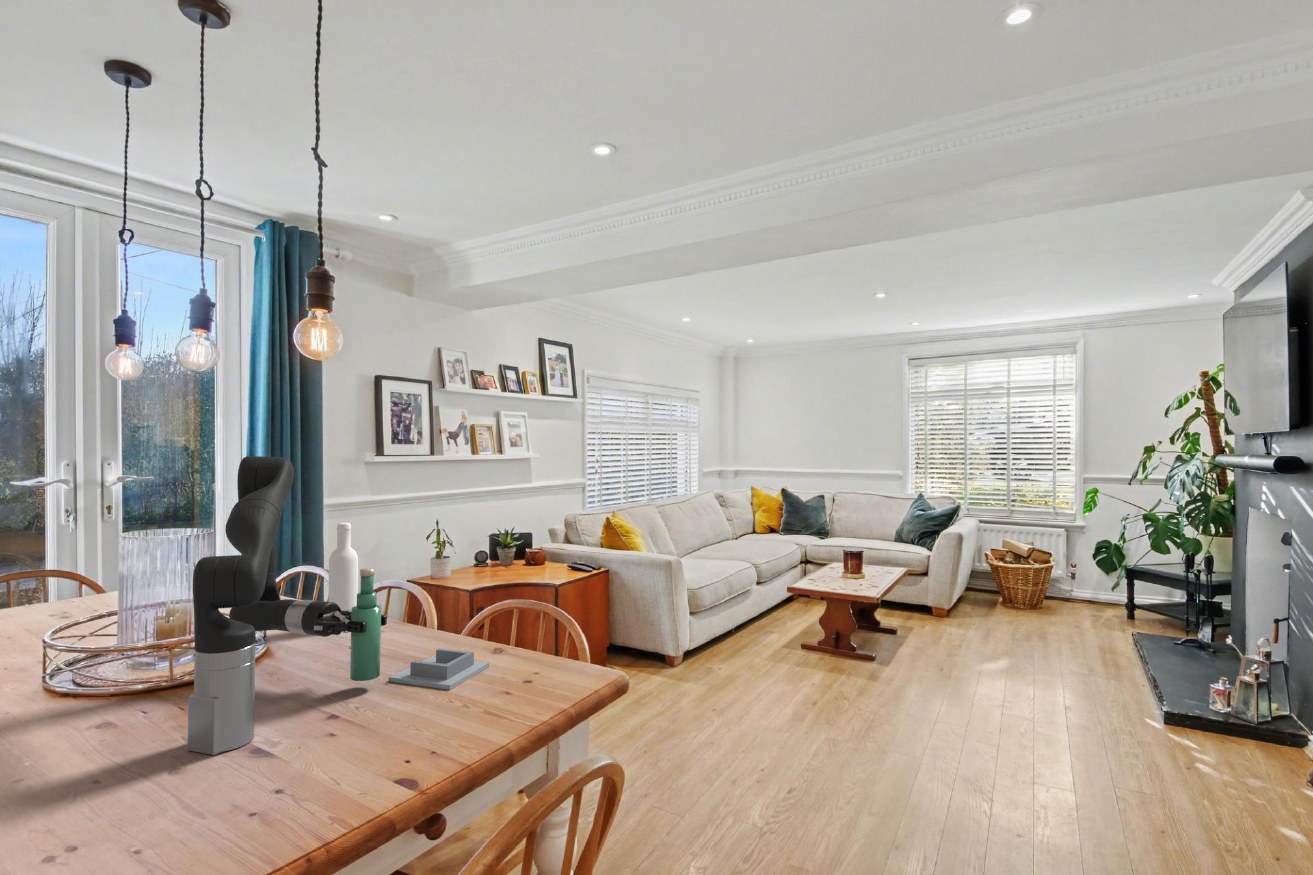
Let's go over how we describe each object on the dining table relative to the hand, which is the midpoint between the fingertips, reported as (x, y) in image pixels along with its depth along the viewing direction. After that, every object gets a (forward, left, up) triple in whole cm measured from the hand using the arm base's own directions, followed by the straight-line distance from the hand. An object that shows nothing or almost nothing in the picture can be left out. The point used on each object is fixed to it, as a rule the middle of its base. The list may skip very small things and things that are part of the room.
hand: (375, 624), depth 148 cm
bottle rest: (+13, -7, -14) cm, 21 cm away
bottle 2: (0, +2, -12) cm, 12 cm away
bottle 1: (+38, +43, -15) cm, 59 cm away
